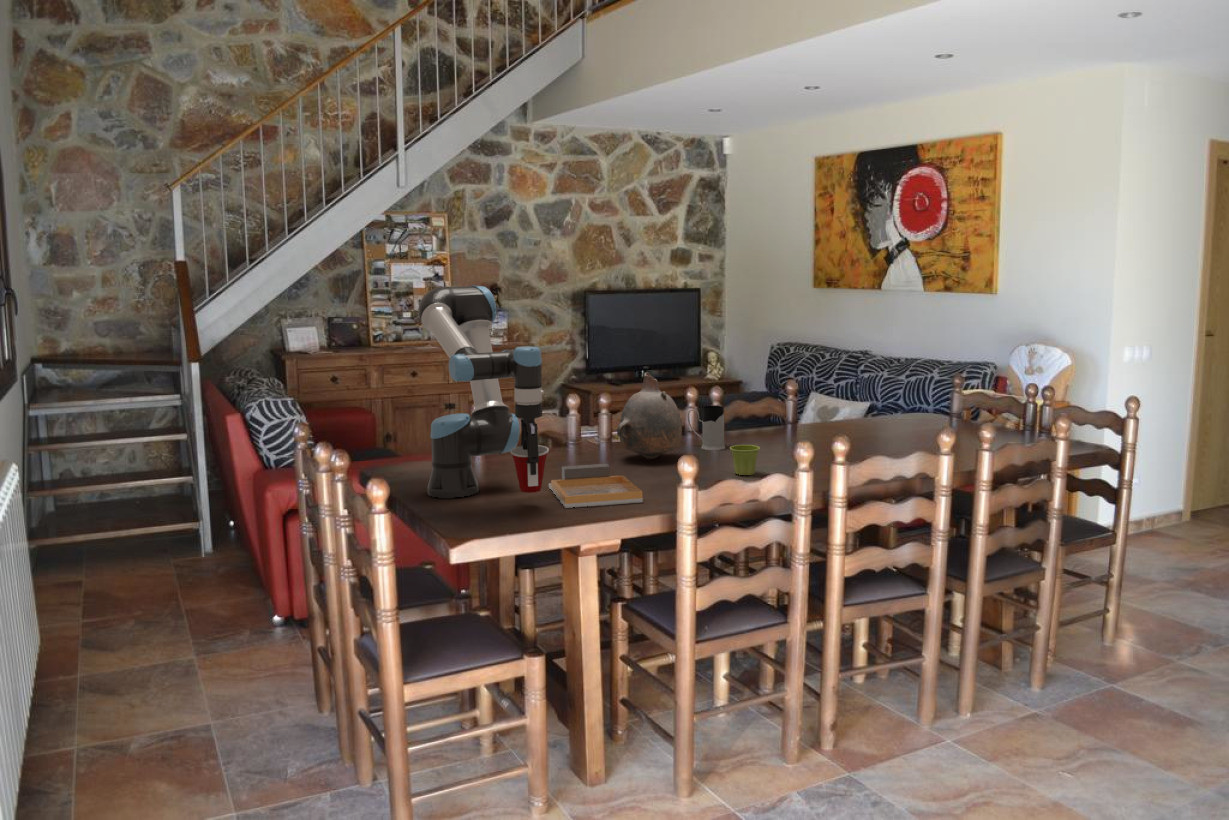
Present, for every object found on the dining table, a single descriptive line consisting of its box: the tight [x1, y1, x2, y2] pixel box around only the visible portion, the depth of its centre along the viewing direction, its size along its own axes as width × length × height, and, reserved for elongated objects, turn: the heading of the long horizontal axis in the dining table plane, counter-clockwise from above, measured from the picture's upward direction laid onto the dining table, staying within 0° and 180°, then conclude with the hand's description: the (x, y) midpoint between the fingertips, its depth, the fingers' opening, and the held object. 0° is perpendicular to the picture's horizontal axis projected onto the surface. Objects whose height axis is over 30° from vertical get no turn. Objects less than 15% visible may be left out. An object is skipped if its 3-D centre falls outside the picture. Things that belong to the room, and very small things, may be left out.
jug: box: [616, 372, 683, 460], centre depth 345 cm, size 24×21×30 cm
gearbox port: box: [548, 463, 644, 509], centre depth 297 cm, size 22×27×6 cm
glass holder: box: [687, 405, 726, 451], centre depth 366 cm, size 9×14×15 cm, turn 65°
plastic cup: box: [509, 444, 549, 494], centre depth 282 cm, size 11×11×12 cm
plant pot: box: [729, 444, 761, 476], centre depth 321 cm, size 9×9×9 cm
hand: (530, 481), depth 283 cm, fingers closed on plastic cup, 9 cm apart
